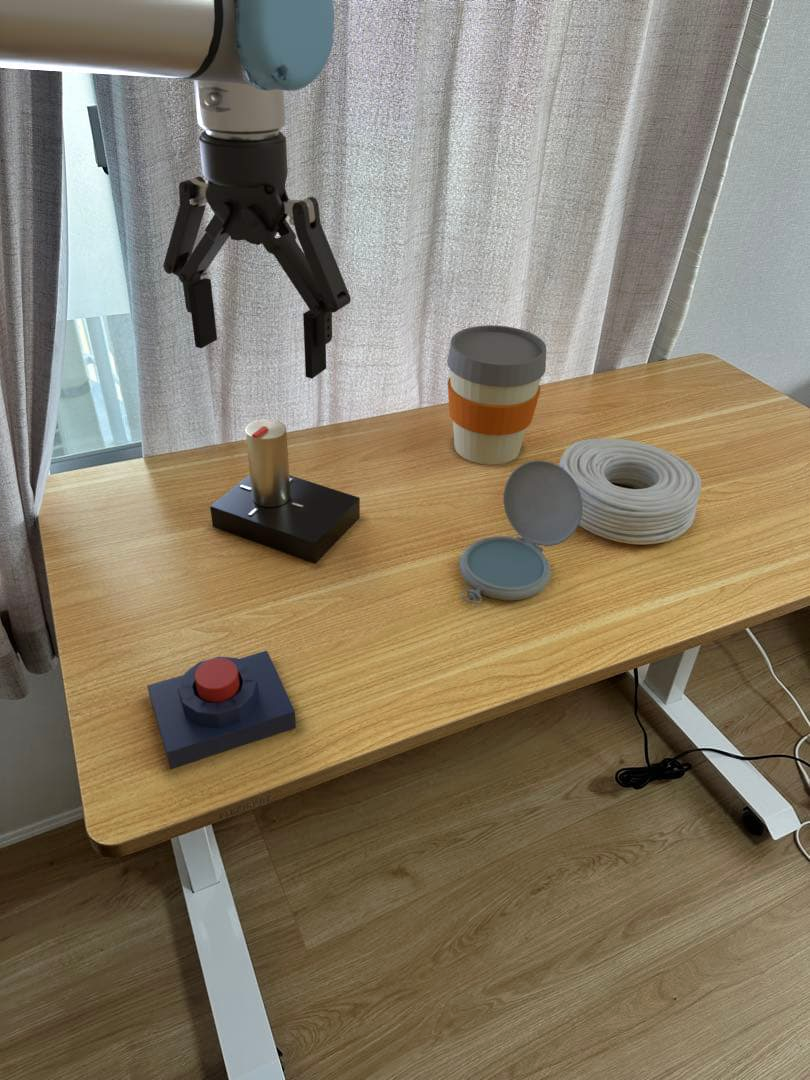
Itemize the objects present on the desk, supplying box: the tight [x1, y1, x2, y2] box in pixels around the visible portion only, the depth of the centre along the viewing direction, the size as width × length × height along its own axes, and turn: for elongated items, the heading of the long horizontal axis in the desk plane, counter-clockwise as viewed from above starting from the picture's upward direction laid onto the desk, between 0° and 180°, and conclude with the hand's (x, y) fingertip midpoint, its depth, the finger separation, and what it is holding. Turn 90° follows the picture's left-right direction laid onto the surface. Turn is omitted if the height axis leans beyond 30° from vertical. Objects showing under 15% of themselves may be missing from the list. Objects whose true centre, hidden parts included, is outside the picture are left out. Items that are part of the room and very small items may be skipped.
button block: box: [146, 650, 297, 770], centre depth 71 cm, size 11×8×4 cm
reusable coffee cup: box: [446, 324, 547, 466], centre depth 106 cm, size 13×13×15 cm
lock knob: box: [245, 418, 290, 507], centre depth 91 cm, size 4×4×9 cm
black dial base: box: [209, 474, 361, 565], centre depth 94 cm, size 14×10×3 cm
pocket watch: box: [458, 459, 583, 604], centre depth 86 cm, size 10×11×15 cm
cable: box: [558, 437, 702, 545], centre depth 98 cm, size 18×18×6 cm
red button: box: [195, 657, 240, 703], centre depth 69 cm, size 4×4×2 cm
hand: (259, 358), depth 83 cm, fingers open, 13 cm apart
